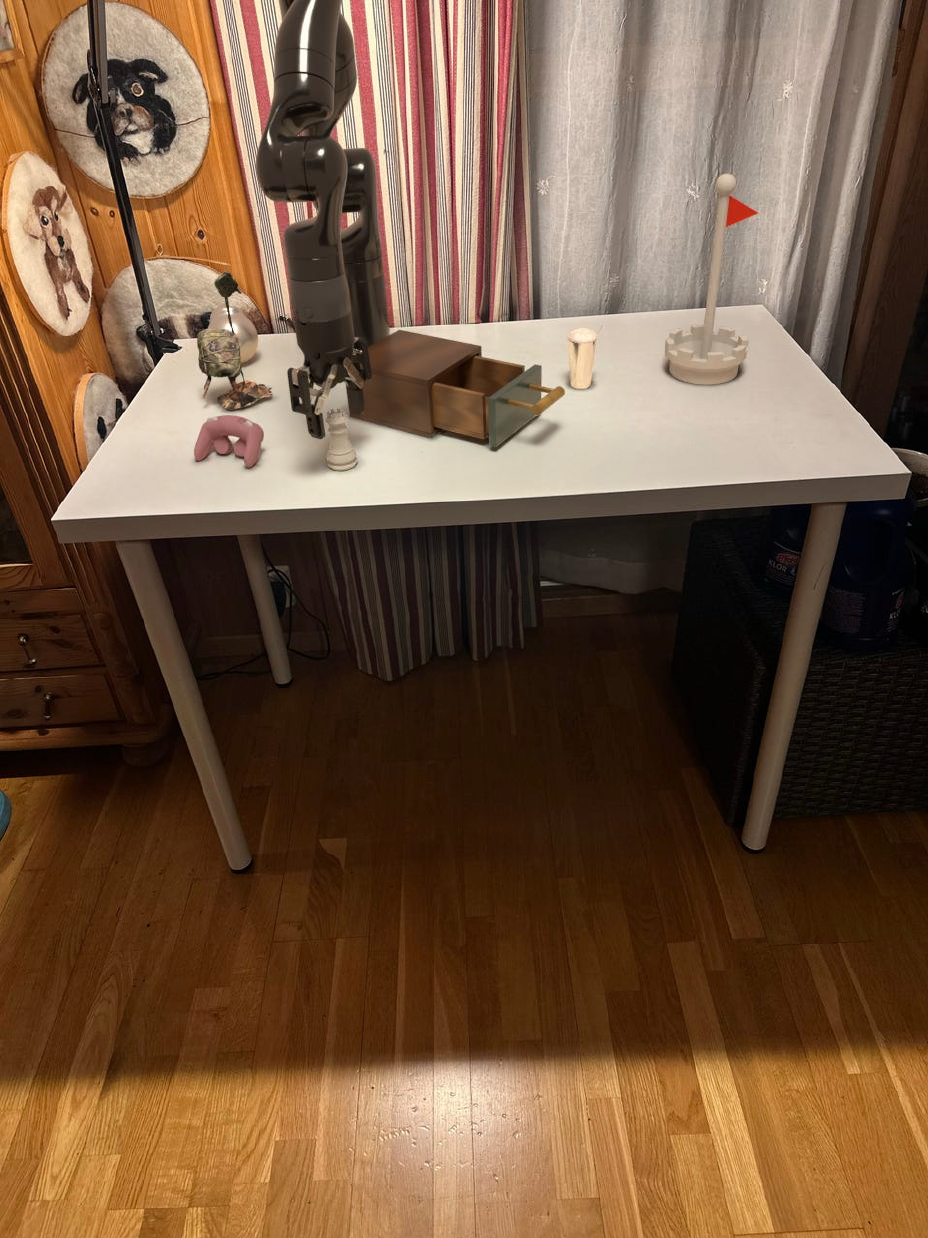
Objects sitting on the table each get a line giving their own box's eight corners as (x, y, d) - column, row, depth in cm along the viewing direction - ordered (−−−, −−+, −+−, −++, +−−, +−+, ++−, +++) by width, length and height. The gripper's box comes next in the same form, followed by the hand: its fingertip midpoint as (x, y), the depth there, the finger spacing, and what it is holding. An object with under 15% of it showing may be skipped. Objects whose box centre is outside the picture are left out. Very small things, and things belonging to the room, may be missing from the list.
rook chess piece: (364, 459, 133) (357, 408, 128) (348, 474, 130) (341, 421, 125) (337, 454, 135) (330, 403, 130) (321, 468, 131) (313, 416, 126)
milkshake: (598, 391, 148) (601, 330, 142) (565, 390, 149) (566, 329, 143) (600, 379, 151) (603, 319, 145) (568, 378, 152) (569, 318, 146)
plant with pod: (202, 396, 153) (173, 274, 141) (270, 385, 155) (247, 263, 143) (206, 416, 147) (176, 290, 135) (277, 404, 149) (254, 279, 137)
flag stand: (655, 381, 150) (672, 182, 131) (672, 351, 159) (690, 162, 141) (737, 391, 146) (767, 186, 127) (749, 360, 155) (779, 165, 137)
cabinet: (483, 401, 147) (481, 345, 141) (431, 438, 137) (427, 380, 132) (404, 382, 154) (399, 329, 148) (349, 417, 144) (342, 361, 139)
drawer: (574, 418, 138) (575, 372, 134) (530, 455, 130) (530, 407, 125) (462, 392, 148) (459, 348, 143) (413, 426, 139) (409, 380, 134)
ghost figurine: (266, 350, 168) (256, 295, 162) (258, 371, 161) (247, 314, 154) (216, 353, 168) (204, 298, 162) (206, 373, 161) (194, 317, 154)
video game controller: (266, 467, 136) (269, 419, 134) (249, 468, 131) (252, 418, 130) (208, 459, 138) (210, 412, 137) (190, 460, 134) (192, 411, 133)
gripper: (334, 288, 125) (348, 400, 135) (262, 322, 115) (283, 440, 125) (378, 296, 121) (389, 410, 131) (308, 331, 112) (326, 452, 122)
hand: (337, 425), depth 128 cm, fingers open, 8 cm apart
